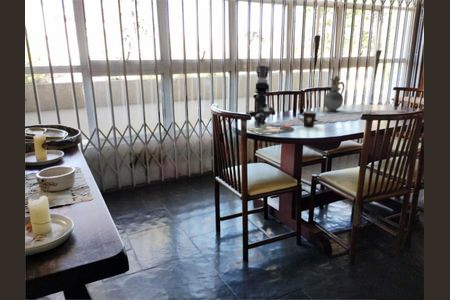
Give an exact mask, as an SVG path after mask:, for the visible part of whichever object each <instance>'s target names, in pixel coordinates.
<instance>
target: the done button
mask: <svg viewBox="0 0 450 300" xmlns="http://www.w3.org/2000/svg"><path fill="white" fill-rule="evenodd" d="M282 127H283V128H285V129H289V128H291V125H290V124H284V125H283V126H282Z"/></svg>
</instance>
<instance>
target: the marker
mask: <svg viewBox="0 0 450 300" xmlns="http://www.w3.org/2000/svg"><path fill="white" fill-rule="evenodd" d="M254 123H255V122H254ZM254 126H255V127H257V128H259V129H262V130H266V126H267V125H266V124H264V125H263V124H260V125H259V127H258V125H257V123H255V124H254ZM255 127H254V128H255Z"/></svg>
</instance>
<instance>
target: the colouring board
mask: <svg viewBox="0 0 450 300" xmlns="http://www.w3.org/2000/svg"><path fill="white" fill-rule="evenodd" d="M265 126H266V130H262V129H259V128H257V127H248V128H247V130H248V129H250V130H252V131H255V132H258V133H261V134H267V133H275V134H278V133H277V132H283V133H285V132H284V130H281V129H280V128H277V127H275V126H272V125H265ZM252 131H251V132H252Z"/></svg>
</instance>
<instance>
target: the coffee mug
mask: <svg viewBox="0 0 450 300" xmlns="http://www.w3.org/2000/svg"><path fill="white" fill-rule="evenodd" d="M300 115H301V116H302V117H303V119H301V118H300V117H299V116H300ZM316 115H317V112H316V111H313V110H312V111H311V110H304V111H303V113H298V114H297V118H298V119H299V120H300V121H301V122H302V123H303V127H304V126H305V128H314V127H315V121H316Z"/></svg>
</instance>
